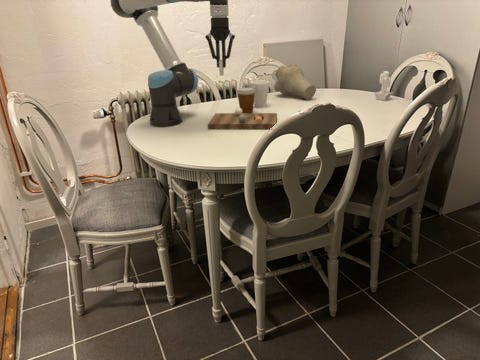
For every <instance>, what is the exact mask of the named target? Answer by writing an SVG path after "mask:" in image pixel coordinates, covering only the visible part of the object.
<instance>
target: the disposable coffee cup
mask: <svg viewBox="0 0 480 360" xmlns="http://www.w3.org/2000/svg"><path fill="white" fill-rule="evenodd" d="M255 92H256V91H255V89H254V88H252V87H251V86H250V87H248V86H247V87H238V88H237V89H236V94H237V98H238V99H237V100H238V105H239V108H241V109H242V113H254V94H255Z"/></svg>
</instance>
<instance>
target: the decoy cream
mask: <svg viewBox="0 0 480 360" xmlns="http://www.w3.org/2000/svg"><path fill="white" fill-rule="evenodd" d="M234 111H235V112H234V113H236V114H237V115H241V114H242V109H241V108H240V107H237V108H236V109H235V110H234Z"/></svg>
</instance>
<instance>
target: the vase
mask: <svg viewBox="0 0 480 360" xmlns="http://www.w3.org/2000/svg"><path fill="white" fill-rule="evenodd" d="M304 74H305V73H304V71H303V69H302V68H301V67H300V66H298V64H297V63H295V62H292V63H289V65H288V66H285V65H280V66H279V67H278V68H277V70H276V71H275V77H276V79H277V80H276V81H275V83H274V85H273V89H274V91H276V92H280V93H281V94H282V95H284V96H285V95H286V96H291V95H297V96H300V97H302V98H303V99H304V100H307V101H309V100H311V99H312V98H313V97H314V96H315V94H316V92H317V87H316V86H315V85H314V84H311V83H310V82H308V81H307V79H306V78H305V75H304Z"/></svg>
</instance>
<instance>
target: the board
mask: <svg viewBox="0 0 480 360" xmlns="http://www.w3.org/2000/svg"><path fill="white" fill-rule="evenodd" d="M242 114H243V115H245V117H246V120H245V121H244V122H240V121H239V120H238V117H239V115H237V114H236V113H235V112H233V113H232V112H229V113H228V112H227V113H226V112H224V113H222V112H220V113H218V112H217V113H214V115H212V117H211V118H210V120H209V121H208V123H207V128H208V129H207V130H271V129H270V128H272V127H273V126H274V125H275V124H276V125H277V121H278V113H277V112H263V113H262V112H253V113H242ZM258 116H260V117H261V118H262V120H255V118H256V117H258Z"/></svg>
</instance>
